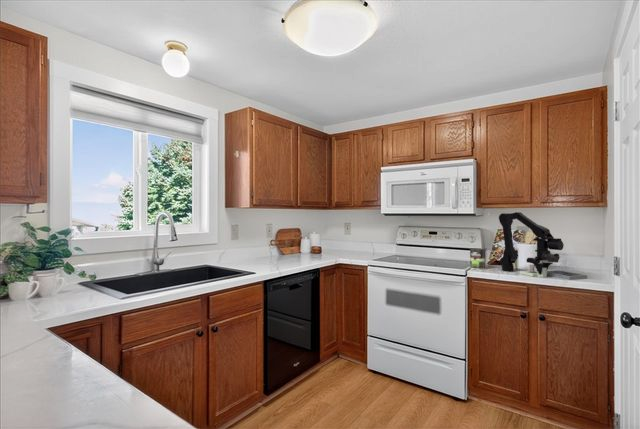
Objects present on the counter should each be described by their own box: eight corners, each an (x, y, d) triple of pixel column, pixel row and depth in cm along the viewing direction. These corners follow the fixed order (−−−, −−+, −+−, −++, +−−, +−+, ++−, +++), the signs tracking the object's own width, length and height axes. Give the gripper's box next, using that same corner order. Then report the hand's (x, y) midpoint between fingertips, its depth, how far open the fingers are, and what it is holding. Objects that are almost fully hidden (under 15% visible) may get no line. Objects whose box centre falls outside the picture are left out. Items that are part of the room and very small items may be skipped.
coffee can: (482, 270, 227) (482, 250, 227) (467, 268, 235) (467, 248, 235) (488, 268, 234) (488, 249, 234) (473, 266, 242) (473, 247, 242)
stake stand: (517, 275, 210) (517, 264, 210) (531, 274, 213) (531, 263, 213) (533, 278, 199) (533, 266, 199) (547, 277, 202) (547, 266, 202)
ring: (520, 273, 209) (520, 265, 209) (531, 272, 212) (531, 264, 212) (538, 277, 197) (538, 268, 197) (550, 276, 199) (550, 267, 199)
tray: (541, 276, 207) (541, 271, 207) (558, 274, 210) (558, 270, 210) (569, 281, 190) (569, 276, 190) (587, 280, 193) (587, 275, 193)
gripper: (542, 250, 189) (542, 277, 189) (567, 249, 194) (567, 275, 194) (525, 248, 200) (525, 274, 200) (549, 247, 205) (549, 272, 205)
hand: (542, 274), depth 199 cm, fingers closed on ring, 3 cm apart
